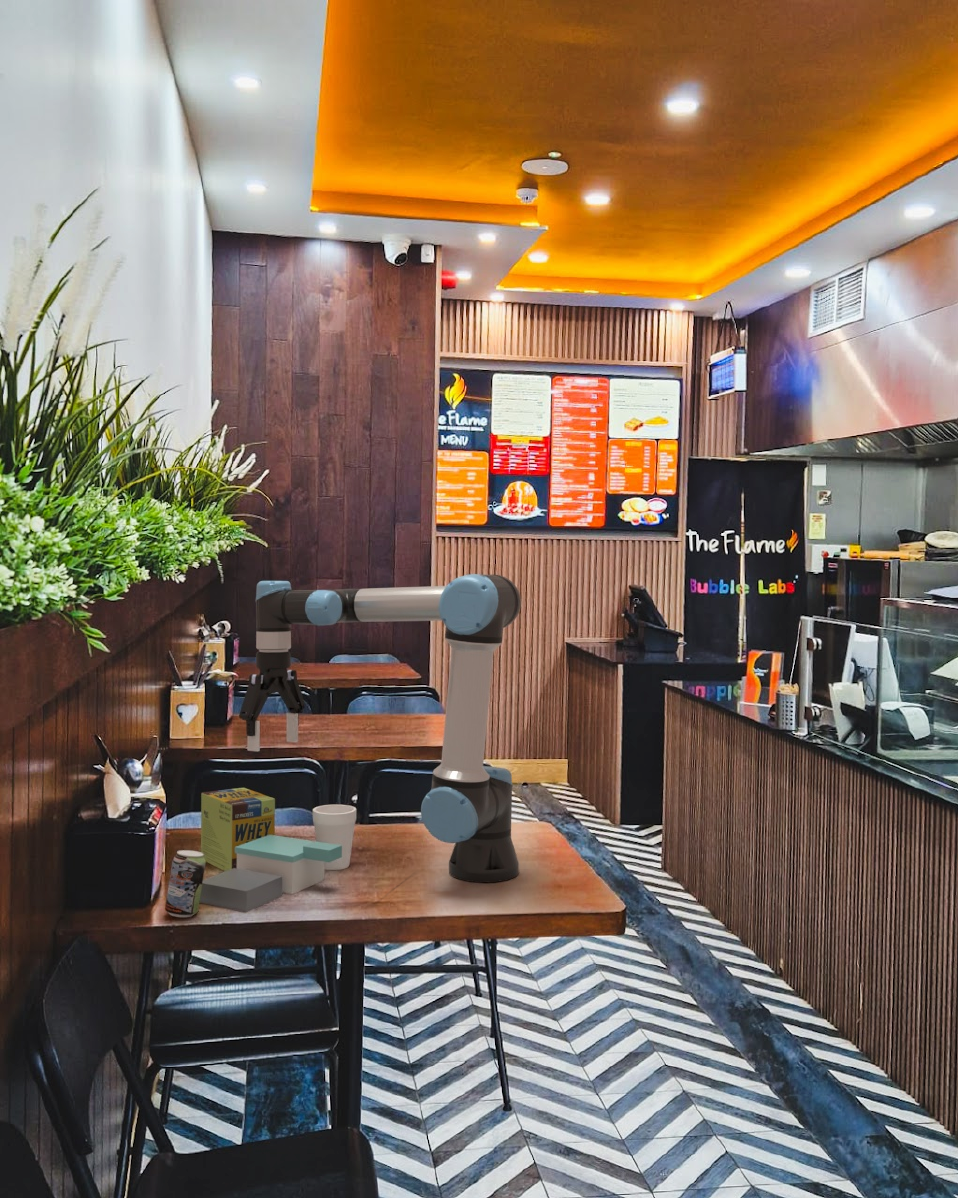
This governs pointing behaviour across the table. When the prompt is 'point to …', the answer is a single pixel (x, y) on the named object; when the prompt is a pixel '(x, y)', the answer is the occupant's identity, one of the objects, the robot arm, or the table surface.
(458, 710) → the robot arm
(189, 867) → the beverage can
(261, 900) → the block
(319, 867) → the tub
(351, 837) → the foam cup
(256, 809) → the protein box
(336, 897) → the table surface
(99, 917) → the table surface
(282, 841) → the lid
